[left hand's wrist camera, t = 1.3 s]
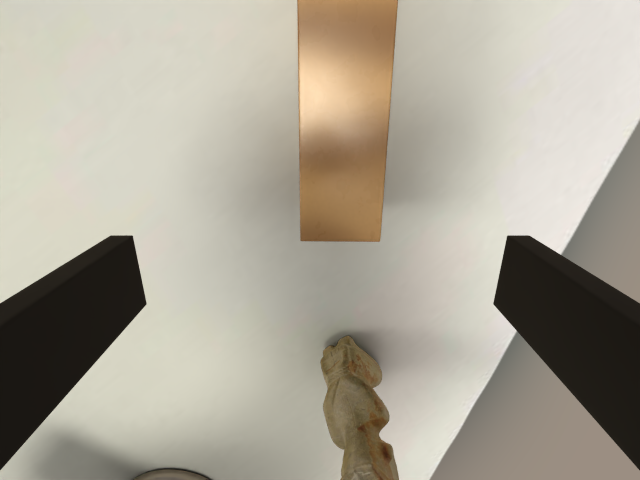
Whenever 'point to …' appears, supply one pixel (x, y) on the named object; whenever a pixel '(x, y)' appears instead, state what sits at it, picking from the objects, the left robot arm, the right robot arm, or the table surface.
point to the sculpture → (356, 412)
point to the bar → (344, 116)
